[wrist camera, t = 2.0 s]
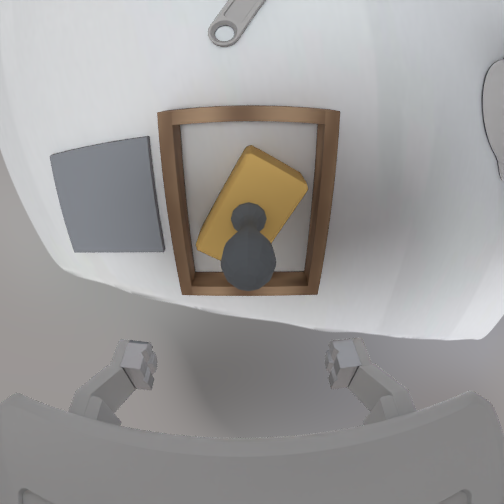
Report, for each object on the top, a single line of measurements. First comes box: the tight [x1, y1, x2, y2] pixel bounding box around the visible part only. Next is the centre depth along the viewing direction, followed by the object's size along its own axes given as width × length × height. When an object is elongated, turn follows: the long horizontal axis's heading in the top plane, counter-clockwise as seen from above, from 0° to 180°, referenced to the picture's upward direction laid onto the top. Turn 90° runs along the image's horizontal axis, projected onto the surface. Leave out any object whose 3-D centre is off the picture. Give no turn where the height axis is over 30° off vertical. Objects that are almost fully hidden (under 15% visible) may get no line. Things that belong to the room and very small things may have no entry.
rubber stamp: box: [196, 145, 308, 291], centre depth 21 cm, size 10×6×12 cm, turn 151°
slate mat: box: [50, 136, 165, 252], centre depth 25 cm, size 12×12×1 cm
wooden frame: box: [157, 105, 340, 296], centre depth 25 cm, size 14×18×2 cm
